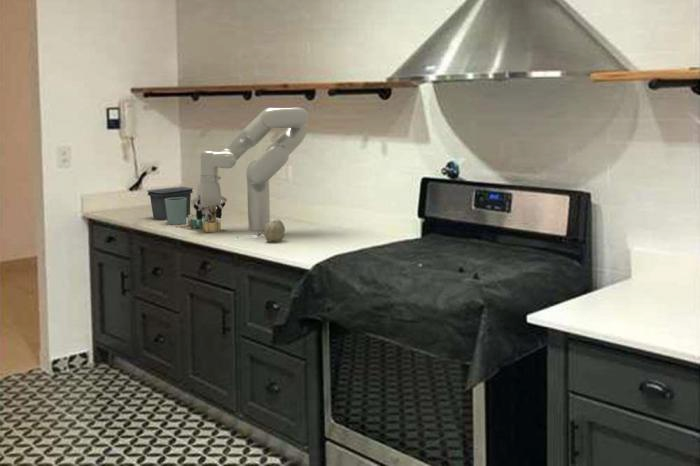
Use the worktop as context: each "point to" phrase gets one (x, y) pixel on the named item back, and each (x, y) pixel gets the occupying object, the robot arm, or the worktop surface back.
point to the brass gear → (211, 226)
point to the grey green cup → (176, 210)
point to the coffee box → (209, 212)
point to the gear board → (195, 224)
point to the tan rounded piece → (274, 231)
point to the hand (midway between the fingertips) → (209, 218)
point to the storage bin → (162, 194)
